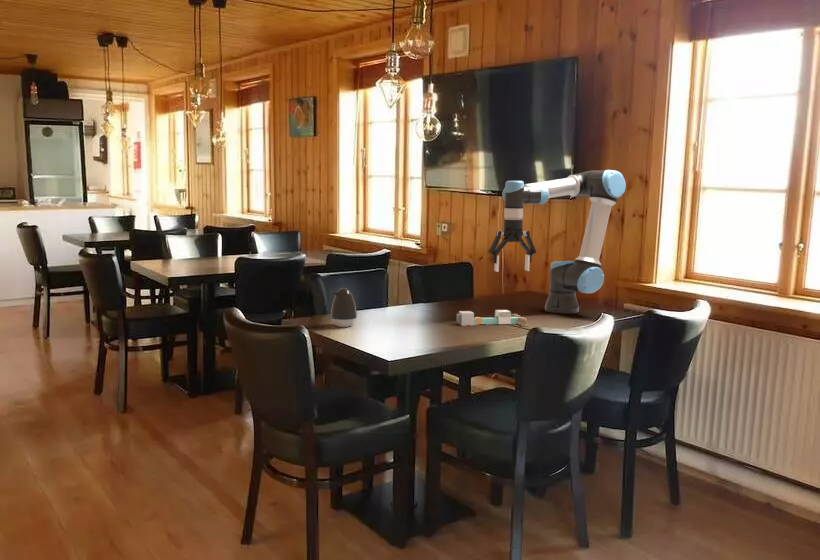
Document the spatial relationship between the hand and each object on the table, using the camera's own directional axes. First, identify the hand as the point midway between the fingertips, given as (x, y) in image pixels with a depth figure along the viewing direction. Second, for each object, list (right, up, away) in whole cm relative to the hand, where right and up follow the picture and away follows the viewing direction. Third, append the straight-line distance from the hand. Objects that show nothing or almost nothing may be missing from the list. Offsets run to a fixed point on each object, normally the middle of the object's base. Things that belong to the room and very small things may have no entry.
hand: (511, 271), depth 291 cm
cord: (-9, -22, -1) cm, 23 cm away
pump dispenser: (-68, -22, -11) cm, 72 cm away
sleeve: (-4, -21, 0) cm, 22 cm away
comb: (+3, -21, +1) cm, 22 cm away
